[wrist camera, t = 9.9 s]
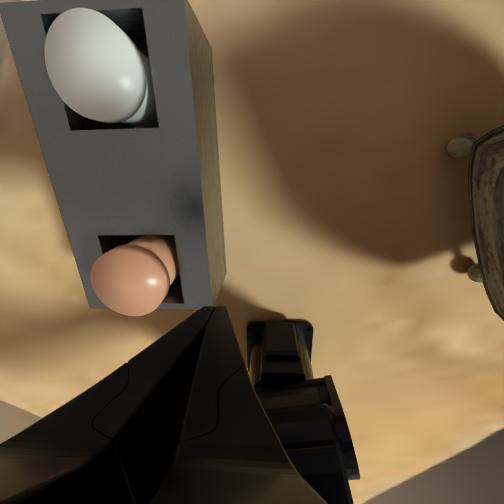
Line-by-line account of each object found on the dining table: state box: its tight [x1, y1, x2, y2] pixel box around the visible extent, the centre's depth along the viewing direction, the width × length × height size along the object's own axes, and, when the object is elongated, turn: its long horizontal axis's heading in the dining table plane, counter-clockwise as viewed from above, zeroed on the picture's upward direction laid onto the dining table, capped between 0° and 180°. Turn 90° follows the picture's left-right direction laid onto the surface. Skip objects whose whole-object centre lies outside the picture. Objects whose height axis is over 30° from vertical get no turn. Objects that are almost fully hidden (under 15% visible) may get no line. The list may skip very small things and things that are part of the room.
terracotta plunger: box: [90, 235, 180, 316], centre depth 17 cm, size 4×4×6 cm
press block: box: [0, 0, 226, 310], centre depth 17 cm, size 17×9×6 cm, turn 1°
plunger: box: [45, 8, 159, 128], centre depth 14 cm, size 4×4×6 cm
